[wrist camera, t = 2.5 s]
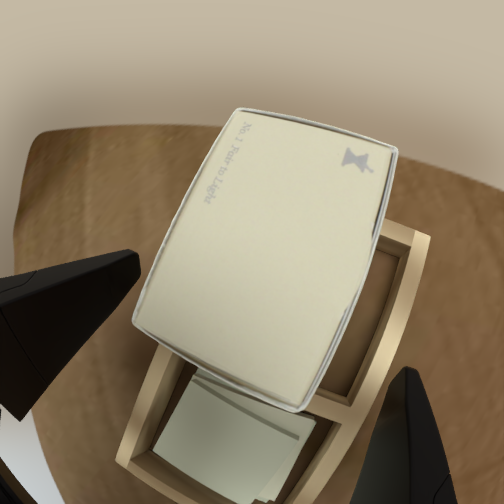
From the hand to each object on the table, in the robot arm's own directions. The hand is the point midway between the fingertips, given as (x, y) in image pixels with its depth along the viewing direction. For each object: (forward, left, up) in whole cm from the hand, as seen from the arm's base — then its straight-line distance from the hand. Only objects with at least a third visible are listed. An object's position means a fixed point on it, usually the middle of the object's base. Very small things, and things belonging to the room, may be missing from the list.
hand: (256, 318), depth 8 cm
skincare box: (+2, +1, -9) cm, 10 cm away
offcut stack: (-7, -4, -10) cm, 13 cm away
